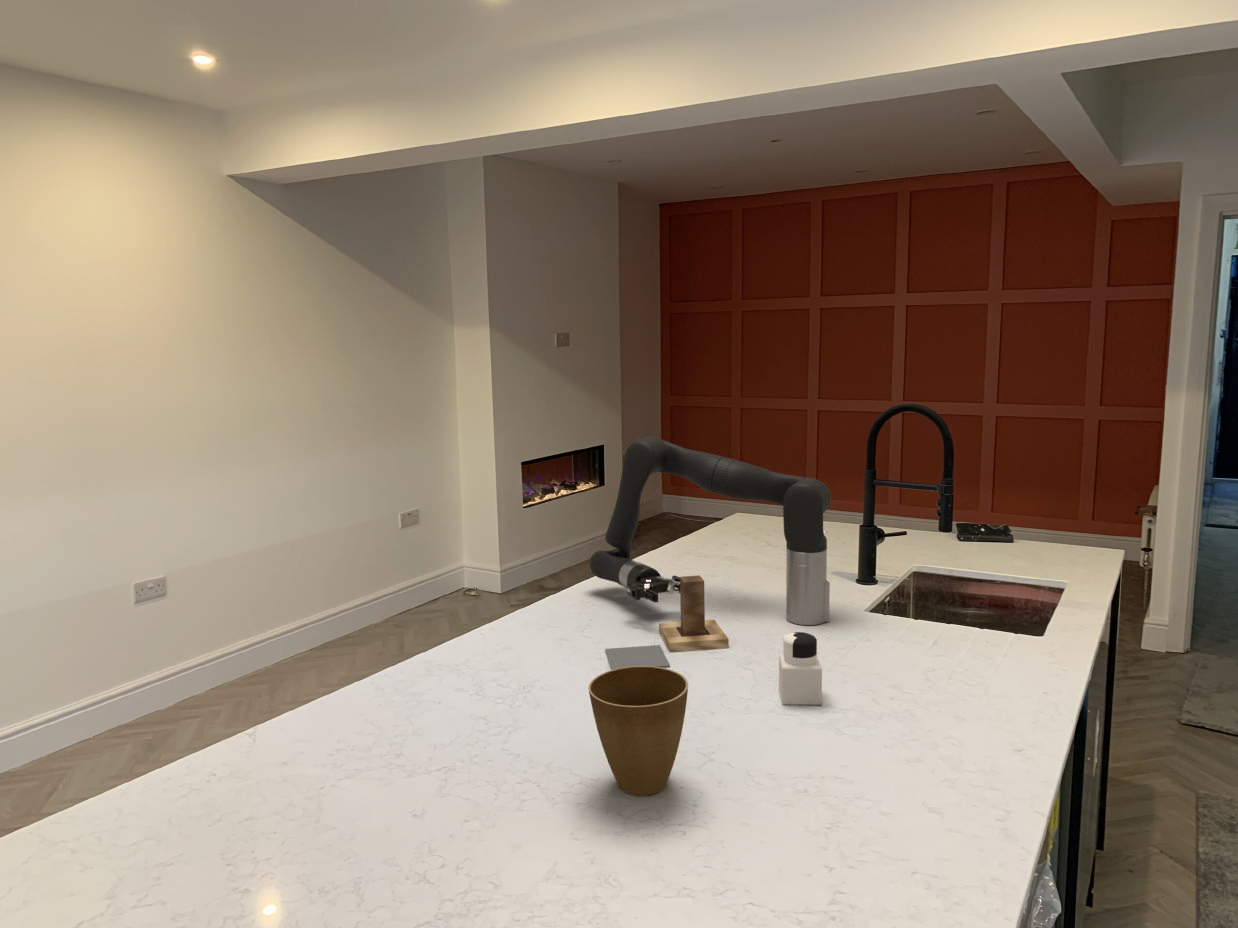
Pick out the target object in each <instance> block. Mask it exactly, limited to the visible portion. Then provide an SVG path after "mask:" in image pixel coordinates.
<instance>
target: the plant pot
mask: <svg viewBox="0 0 1238 928" xmlns="http://www.w3.org/2000/svg"><path fill="white" fill-rule="evenodd" d="M688 689H689V682H688V679H687V678H686V677H685V676H684V674H683V675H682V674H681V673H679V672H678V671H675V670H674V669H669V668H667V667H666V668H661V667H654V666H631V667H623V668H618V669H614V670H611V669H610V670H608V671H605V672H603V673H601V674H599V675H597V676H596V677H594V678H593V679H592V680H591V681H590V683H589V684H588V693H589V694H588V695H589V698H590V704H591V708H592V709H591V710H592V713H593V718H594V721H595V726H596V728H597V729H596V730H597V732H598V737H599V740H600V742H601V746H602V749H603V753H604V754H605V757H606V760H607V762H608V765H609V768H610V770H611V773H612V775H613V777H614V779H615V781H616V784H617V786H618V788H619V789H620V790H621V791H622V792H623V793H626V794H628V795H631V796H635V797H636V796H639V797H641V796H642V797H646V796H651V795H655V794H658V793H659V792H662V791H663V790H664V789H665V788H666V787H667V784H668V781H669V779H670V776H671V773H672V770H673V767H674V764H675V760H676V757H677V754H678V749H679V746H680V741H681V738H682V732H683V727H684V721H685V715H686V708H687V702H688V701H687V700H688V693H689V692H688V691H689V690H688Z"/></svg>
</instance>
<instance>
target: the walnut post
mask: <svg viewBox="0 0 1238 928" xmlns="http://www.w3.org/2000/svg"><path fill="white" fill-rule="evenodd" d="M679 577H680V593H679V595H680V596H679V597H680V599H679V601H680V622H681V637H686V636H701V635H705V620H706V618H705V617H706V615H705V614H706V612H705V609H706V608H705V604H706V603H705V599H706V598H705V580H704V579H703V577H702V576H701V575H687V576H686V575H685V576H679Z"/></svg>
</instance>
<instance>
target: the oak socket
mask: <svg viewBox="0 0 1238 928" xmlns="http://www.w3.org/2000/svg"><path fill="white" fill-rule="evenodd" d="M658 632H659V634H660V636H661V638H662V640H663V641H664V645H665V646H666V648H667V649H668V652H669V653H675V652H685V651H687V652H690V651H699V650H700V651H701V650H703V651H704V650H712V649H713V650H717V649H728V648H729V647H730V646H729V645H730V644H729V641H730V639H729V637H728V636H727V635H726V634H725V633H726V632H724V630H723V629H722V628H721V627H720V625H719V624H718V623H717V621H716V619H705V635H701V636H686V637H681V621H677V622H675V621H674V622H662V623H661V622H659V623H658Z"/></svg>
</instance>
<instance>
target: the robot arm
mask: <svg viewBox="0 0 1238 928" xmlns="http://www.w3.org/2000/svg"><path fill="white" fill-rule="evenodd" d="M624 453H625V454H624V458H623V463H622V465H623V466H622V471H621V477H620V484H619V487H618V492H617V497H616V501H615V506H614V509H613V512H612V515H611V518H610V521H609V524H608V527H607V529H606V533H605V541H606V543H607V544H608V545H609V546H611V547H613V548H615V549H616V550H615V551H613V550H603V549H602V550H597V551H595V552H594V553H593V554H592V555H591V556H590V559H589V568H590V571H591V573H592V574H593V575H594V576H595V577H597V578H598V579H601V580H606V581H609V582H613V583H616V584H618V585H620V586H622V587H623V588H624V589H625V590H626V595H627V596H629V597H630V598H632V599H633V600H636V601H640V600H641V599H643V600H645V601H648V600H649V601H650V602H653V603H659V595H662V594H667V595H673V594H675V593H677V594H678V593H679V594H680V577H681V576H677V575H672V576H671V578H669V577H668V578H666V577H664V576H662V575H661V574H660V572H659V571H658V569H656V568H653V567H652V566H649V565H647V564H645V563H642V562H638V561H635V560H633V559H631V554H632V542H633V539H634V536H635V533H636V532H637V528H638V524H639V521H640V513H641V511H640V510H641V507H640V506H641V497H642V493H643V489H644V487H645V485H646V483H647V481H648V480H649V477H650V476H651V475H652V474H656V473H663V474H668V475H669V474H670V475H673V476H678V477H682V478H683V479H686V480H688V481H690V482H691V483H693V484H694V485H696V486H697V487H699V488H700V489H702V490H704V491H706V492H709V493H712V494H715V495H719V496H722V497H725V498H730V499H737V500H745V501H746V500H748V501H762V502H763V501H764V502H770V503H775V504H779V505H781V506H782V509H783V511H782V513H783V514H782V515H783V518H782V519H783V535H784V539H785V541H786V543H785V544H786V547H785V548H786V556H785V557H786V558H785V559H786V561H785V562H786V563H785V564H786V568H785V569H786V570H785V571H786V572H785V574H786V575H785V576H786V577H785V580H786V584H785V585H786V588H785V589H786V591H785V593H786V594H785V595H786V598H785V599H786V600H785V603H786V604H785V606H786V609H785V610H786V611H785V612H786V613H785V614H786V615H785V616H786V620H787V621H788V622H790V623H792V624H796V625H800V626H815V625H820V624H823V623H828V622H830V600H831V599H830V595H831V594H830V592H831V591H830V588H831V587H830V582H829V581H828V580H827V578H828V577H827V575H828V574H827V573H828V570H827V567H828V565H827V564H828V562H827V561H828V560H827V558H828V557H827V555H828V551H827V550H828V539H827V537H826V535H825V533H824V513H826V511H827V510H828V509H829V507H830V505H831V503H832V494H831V493H832V492H831V490H830V489H829V488H828V487H827V485H826V484H825V483H823V482H822V481H820V480H818V479H816V478H812V477H805V476H797V475H791V474H785V473H780V472H776V471H772V470H769V469H767V468H763V467H761V466H758V465H753V464H751V463H747V462H744V461H741V460H737V459H734V458H731V457H726V456H723V455H722V456H721V455H717V454H713V453H707V452H704V451H699V450H691V449H688V448H685V447H684V446H683V447H682V446H680V445H677V444H674V443H672V442H669V441H666V440H664V439H662V438H658V437H655V436H650V437H649V436H647V437H644V438H640V439H637V440H635V441H633V442H631V443H630V444H629V445H628V446H627V448H626V450H625V452H624Z"/></svg>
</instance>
